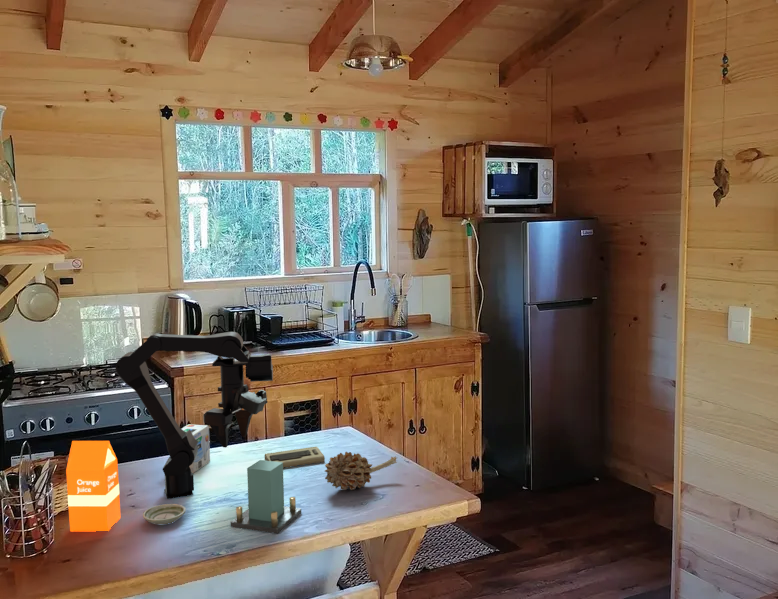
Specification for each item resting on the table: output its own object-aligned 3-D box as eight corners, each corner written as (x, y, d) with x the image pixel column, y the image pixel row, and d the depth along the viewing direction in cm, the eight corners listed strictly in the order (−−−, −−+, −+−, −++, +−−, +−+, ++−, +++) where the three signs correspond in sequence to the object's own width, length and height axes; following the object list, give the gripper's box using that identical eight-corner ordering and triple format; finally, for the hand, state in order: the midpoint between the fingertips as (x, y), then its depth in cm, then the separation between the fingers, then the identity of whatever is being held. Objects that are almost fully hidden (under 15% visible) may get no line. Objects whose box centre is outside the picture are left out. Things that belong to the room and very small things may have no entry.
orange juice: (84, 517, 177) (79, 435, 175) (121, 517, 177) (116, 435, 175) (69, 531, 169) (63, 446, 167) (107, 531, 169) (102, 446, 167)
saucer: (185, 510, 181) (185, 500, 181) (187, 526, 172) (186, 516, 172) (143, 515, 178) (143, 506, 178) (142, 532, 169) (142, 522, 169)
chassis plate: (277, 533, 167) (276, 515, 167) (230, 526, 171) (230, 509, 171) (301, 513, 178) (301, 496, 178) (257, 507, 182) (256, 490, 182)
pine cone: (338, 501, 185) (337, 463, 184) (316, 490, 193) (316, 453, 191) (406, 480, 199) (406, 444, 198) (383, 471, 206) (383, 436, 205)
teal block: (272, 521, 171) (270, 470, 169) (248, 518, 173) (247, 468, 171) (284, 511, 176) (282, 462, 175) (261, 508, 178) (260, 459, 177)
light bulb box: (194, 473, 206) (192, 435, 205) (172, 472, 208) (170, 434, 207) (211, 460, 217) (209, 424, 216) (189, 459, 218) (188, 423, 217)
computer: (271, 471, 208) (271, 460, 208) (264, 463, 216) (264, 451, 215) (325, 463, 214) (324, 452, 214) (316, 455, 222) (316, 444, 222)
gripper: (240, 393, 178) (243, 456, 180) (278, 376, 196) (279, 434, 198) (200, 389, 182) (203, 451, 184) (240, 373, 200) (243, 430, 202)
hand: (234, 441), depth 192 cm, fingers open, 9 cm apart
